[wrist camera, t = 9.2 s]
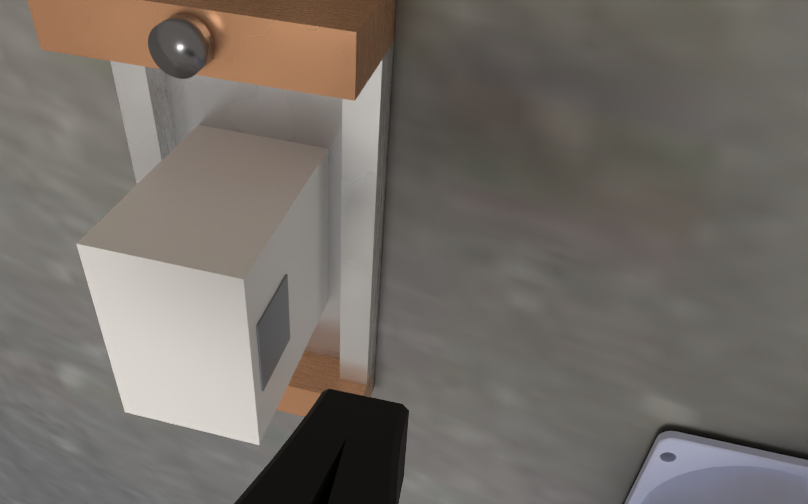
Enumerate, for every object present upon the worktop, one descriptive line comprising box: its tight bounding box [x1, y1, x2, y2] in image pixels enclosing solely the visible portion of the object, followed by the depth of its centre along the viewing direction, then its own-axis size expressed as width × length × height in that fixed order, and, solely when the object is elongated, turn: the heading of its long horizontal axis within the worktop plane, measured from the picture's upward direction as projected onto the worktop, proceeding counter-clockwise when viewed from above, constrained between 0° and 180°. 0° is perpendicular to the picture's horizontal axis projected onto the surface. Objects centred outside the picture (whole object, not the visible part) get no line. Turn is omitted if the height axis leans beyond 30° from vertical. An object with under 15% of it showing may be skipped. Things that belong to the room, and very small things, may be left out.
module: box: [77, 125, 329, 445], centre depth 19 cm, size 6×4×6 cm
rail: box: [28, 0, 396, 417], centre depth 20 cm, size 15×8×4 cm, turn 176°
